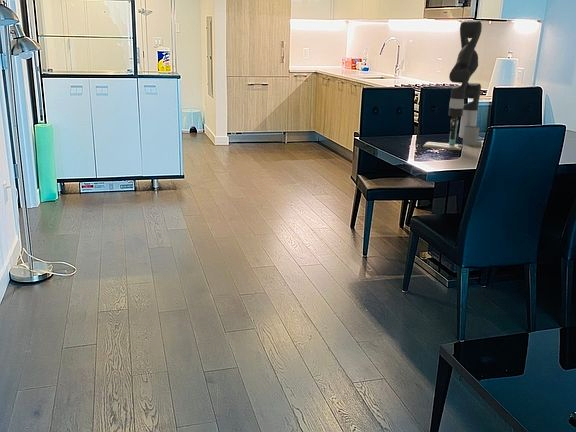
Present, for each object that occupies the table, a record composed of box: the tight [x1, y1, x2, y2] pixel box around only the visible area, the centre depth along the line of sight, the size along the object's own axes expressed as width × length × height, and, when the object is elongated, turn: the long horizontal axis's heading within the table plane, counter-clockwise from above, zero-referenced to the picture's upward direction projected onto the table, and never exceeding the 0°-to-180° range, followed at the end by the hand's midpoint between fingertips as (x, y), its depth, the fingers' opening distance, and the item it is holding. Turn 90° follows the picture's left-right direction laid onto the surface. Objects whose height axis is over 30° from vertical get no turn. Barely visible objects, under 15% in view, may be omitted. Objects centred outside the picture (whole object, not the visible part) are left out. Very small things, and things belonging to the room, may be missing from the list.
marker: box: [448, 123, 459, 146], centre depth 310 cm, size 4×4×12 cm
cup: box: [462, 125, 480, 146], centre depth 326 cm, size 8×8×10 cm
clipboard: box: [422, 141, 464, 151], centre depth 316 cm, size 14×20×2 cm
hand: (452, 138), depth 310 cm, fingers closed on marker, 3 cm apart
